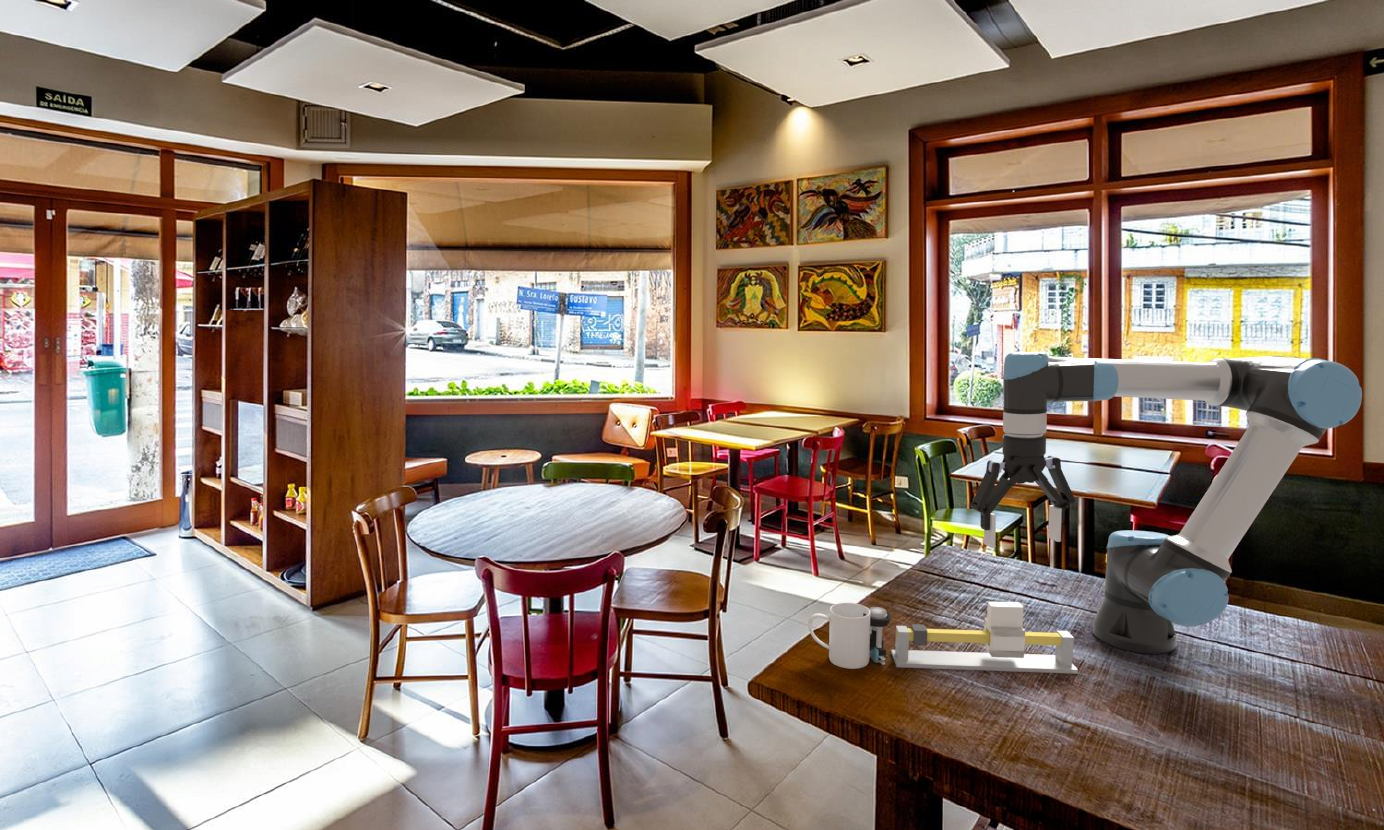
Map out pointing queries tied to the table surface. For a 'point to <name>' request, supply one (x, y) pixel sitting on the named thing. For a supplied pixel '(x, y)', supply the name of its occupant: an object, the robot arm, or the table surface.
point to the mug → (847, 635)
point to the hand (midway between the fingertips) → (1022, 542)
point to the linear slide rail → (984, 658)
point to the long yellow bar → (973, 636)
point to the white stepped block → (1005, 629)
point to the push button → (877, 633)
